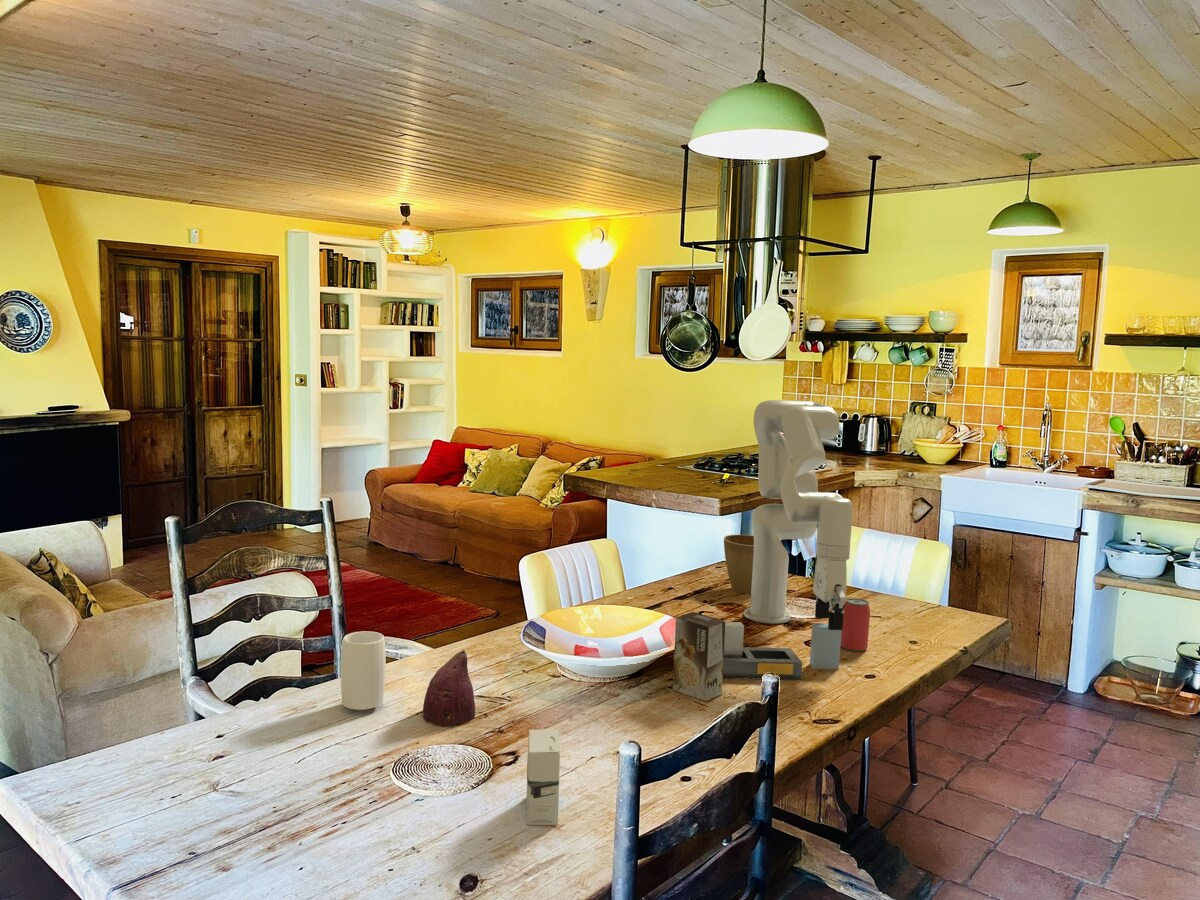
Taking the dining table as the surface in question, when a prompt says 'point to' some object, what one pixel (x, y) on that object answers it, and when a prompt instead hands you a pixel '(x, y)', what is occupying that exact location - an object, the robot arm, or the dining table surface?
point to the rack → (756, 658)
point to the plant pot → (739, 561)
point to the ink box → (543, 777)
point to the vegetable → (450, 694)
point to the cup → (363, 670)
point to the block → (825, 647)
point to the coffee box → (698, 655)
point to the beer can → (855, 625)
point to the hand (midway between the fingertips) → (828, 623)
